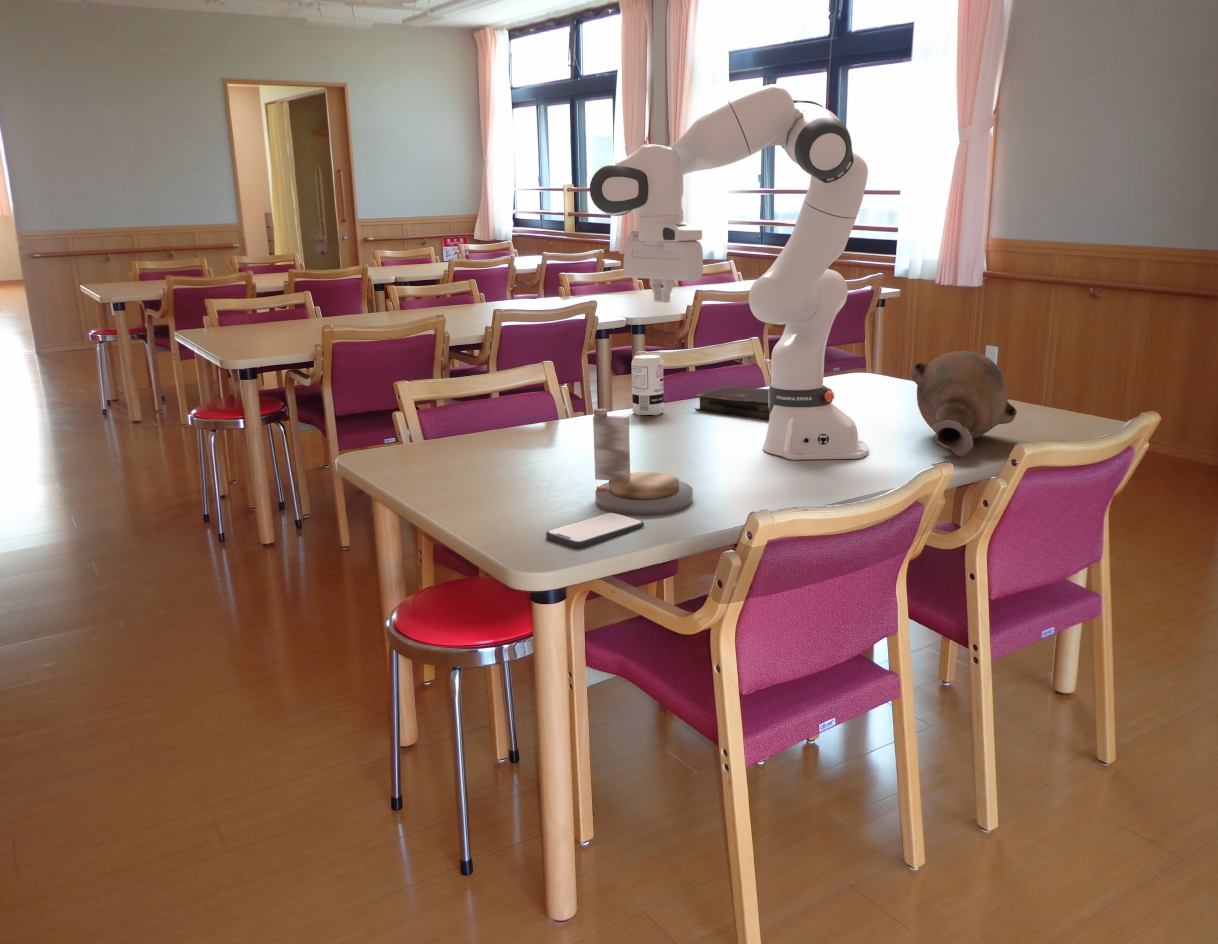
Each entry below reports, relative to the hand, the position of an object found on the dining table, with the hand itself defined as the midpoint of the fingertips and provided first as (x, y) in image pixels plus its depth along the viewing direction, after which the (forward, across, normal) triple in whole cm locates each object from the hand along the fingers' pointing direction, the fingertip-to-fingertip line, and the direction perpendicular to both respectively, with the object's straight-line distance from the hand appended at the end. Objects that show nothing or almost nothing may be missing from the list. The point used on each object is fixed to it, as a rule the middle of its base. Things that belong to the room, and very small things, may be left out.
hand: (662, 302), depth 198 cm
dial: (+32, +14, -20) cm, 40 cm away
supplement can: (+34, -44, +33) cm, 65 cm away
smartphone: (+35, +24, -36) cm, 56 cm away
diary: (+35, -27, +55) cm, 70 cm away
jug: (+34, +30, +59) cm, 75 cm away
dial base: (+34, +16, -19) cm, 42 cm away
